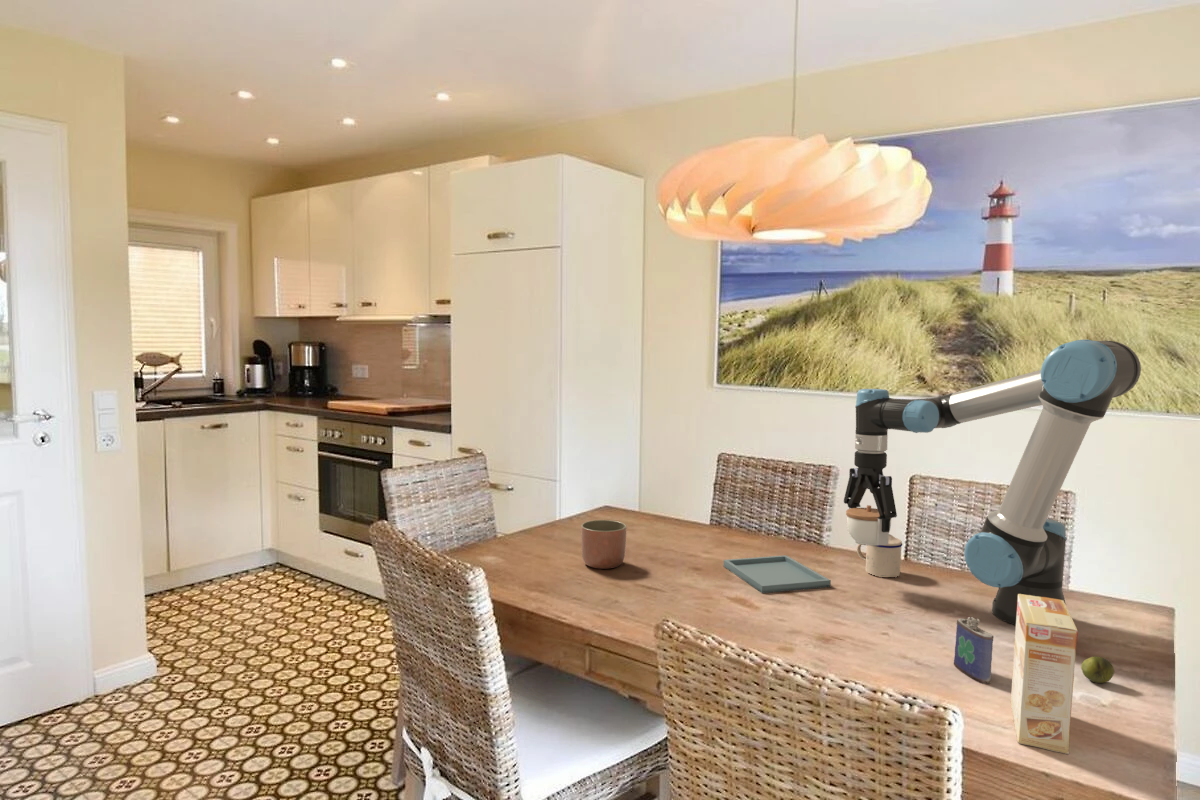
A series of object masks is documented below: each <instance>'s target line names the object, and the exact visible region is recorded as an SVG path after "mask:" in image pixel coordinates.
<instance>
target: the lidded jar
mask: <svg viewBox="0 0 1200 800" xmlns="http://www.w3.org/2000/svg"><path fill="white" fill-rule="evenodd" d="M884 514H885V513H884ZM845 515H846V528H847V531H848V534H849V535H850V537H851V538H852V539H853V540H854V542H855V543H856V544H857V545H858V544H861V546H866V547H867V546H877V523H878V517H879V516H880V515H879V512H878V509H877V508H874V507H872V505H871V504H870V505H868V504H867V505H866V507H857V508H851V509H849V508H848V509H847V510H846V511H845ZM891 526H892V518H891V519H890V529H891ZM890 531H891V530H890ZM890 531H889V533H890Z"/></svg>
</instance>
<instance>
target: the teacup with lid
mask: <svg viewBox="0 0 1200 800" xmlns="http://www.w3.org/2000/svg"><path fill="white" fill-rule="evenodd" d="M902 546H903V542H902V540H901V539H900V538H897V537H896V536H893V535H892V534H890V533H889V540H888V545H877V546H867V545H866V551H865V553H866V554H865V556H864V555H863V553H862V551H861V547H862V545H861V544H858V543H857V546H856V552H857V556H858V557H859V558H860V559H861V560H862V561H864V562H865V573H867V572H868V573H870V574H872V575H871V576H873V575H875V576H874V577H876V576H879V577H878V578H882V577H895V578H898V577H899V576H900V575H901V560H902ZM868 573H867V574H868ZM870 574H869V575H870ZM897 576H898V577H897Z"/></svg>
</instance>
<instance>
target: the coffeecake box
mask: <svg viewBox="0 0 1200 800" xmlns="http://www.w3.org/2000/svg"><path fill="white" fill-rule="evenodd" d="M1065 603H1066V602H1065ZM1065 603H1064V601H1063V600H1059V599H1053V598H1047V597H1039V596H1031V595H1024V594H1018V600H1017V616H1016V625H1015V630H1014V631H1015V633H1014V648H1013V665H1012V677H1011V679H1012V681H1011V690H1010V691H1011V692H1010V694H1011V695H1010V706H1011V713H1012V718H1013V722H1014V728H1015V729H1014V730H1015V734H1016V739H1017V743H1018V744H1021V745H1025V746H1029V747H1030V746H1031V747H1034V748H1039V749H1042V750H1043V749H1044V750H1048V751H1051V752H1055V753H1061V754H1066V755H1069V754H1070V751H1069V750H1070V749H1069V747H1070V734H1071V733H1070V731H1071V717H1072V709H1073V708H1072V706H1073V693H1074V691H1073V690H1074V679H1075V667H1076V666H1075V665H1076V652H1077V651H1076V650H1077V640H1078V639H1077V638H1078V628H1077V626H1076V624H1075V622H1074V620H1073V618H1072V615H1071V613H1070V611H1069V609H1068V607H1067V604H1066V605H1065Z"/></svg>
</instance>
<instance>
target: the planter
mask: <svg viewBox="0 0 1200 800" xmlns="http://www.w3.org/2000/svg"><path fill="white" fill-rule="evenodd" d="M580 533H581V534H580V538H581V539H580V540H581V544H580V545H581V555H582V561H583V562H584V564H585V565H587V566H588V567H590V568H593V569H600V570H602V569H603V570H604V569H605V570H607V569H613V568H614V569H615V568H617V567H619V566H621V565H622V563H623V562H624V559H625V557H626V555H625V554H626V545H627V544H626V543H627V542H626V541H627V524H625V523H624V522H622V521H618V520H610V519H597V520H596V519H595V520H588V521H585V522H582V524H580Z"/></svg>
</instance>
